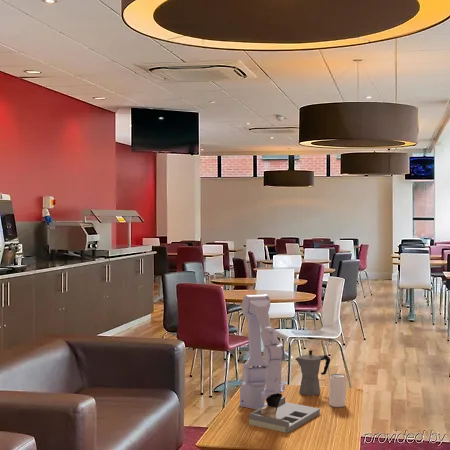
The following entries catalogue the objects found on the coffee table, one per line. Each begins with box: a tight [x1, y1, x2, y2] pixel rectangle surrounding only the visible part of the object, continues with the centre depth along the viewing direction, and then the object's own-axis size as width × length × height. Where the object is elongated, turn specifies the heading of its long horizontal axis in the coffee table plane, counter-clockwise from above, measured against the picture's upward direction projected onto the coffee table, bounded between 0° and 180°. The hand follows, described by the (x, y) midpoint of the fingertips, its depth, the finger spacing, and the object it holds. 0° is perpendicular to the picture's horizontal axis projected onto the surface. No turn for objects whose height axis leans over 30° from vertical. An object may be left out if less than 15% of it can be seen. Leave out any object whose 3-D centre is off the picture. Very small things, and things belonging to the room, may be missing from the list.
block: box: [261, 406, 276, 418], centre depth 270 cm, size 4×4×4 cm
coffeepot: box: [295, 349, 331, 397], centre depth 310 cm, size 15×9×18 cm, turn 103°
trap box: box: [248, 396, 321, 434], centre depth 276 cm, size 16×26×4 cm, turn 147°
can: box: [328, 373, 347, 408], centre depth 294 cm, size 6×6×12 cm
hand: (272, 413), depth 273 cm, fingers closed
